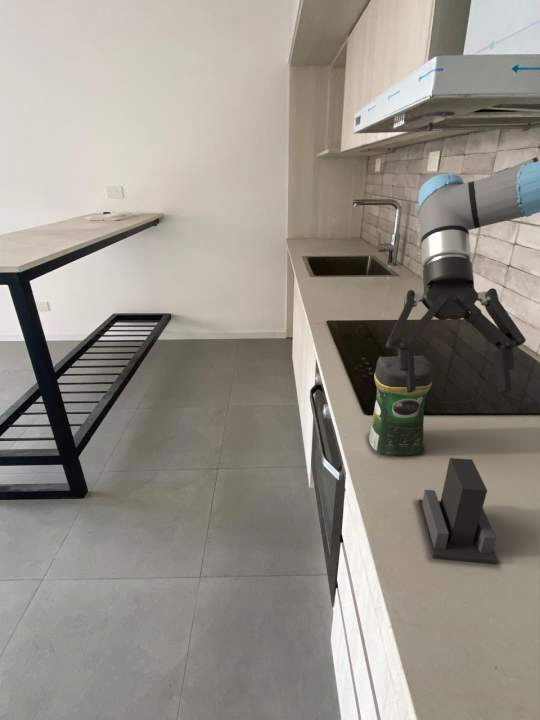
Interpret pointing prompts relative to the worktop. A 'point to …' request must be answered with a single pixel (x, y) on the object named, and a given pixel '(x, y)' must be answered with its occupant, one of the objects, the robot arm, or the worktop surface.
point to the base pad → (439, 535)
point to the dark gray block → (462, 500)
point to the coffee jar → (399, 407)
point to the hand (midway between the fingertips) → (457, 391)
